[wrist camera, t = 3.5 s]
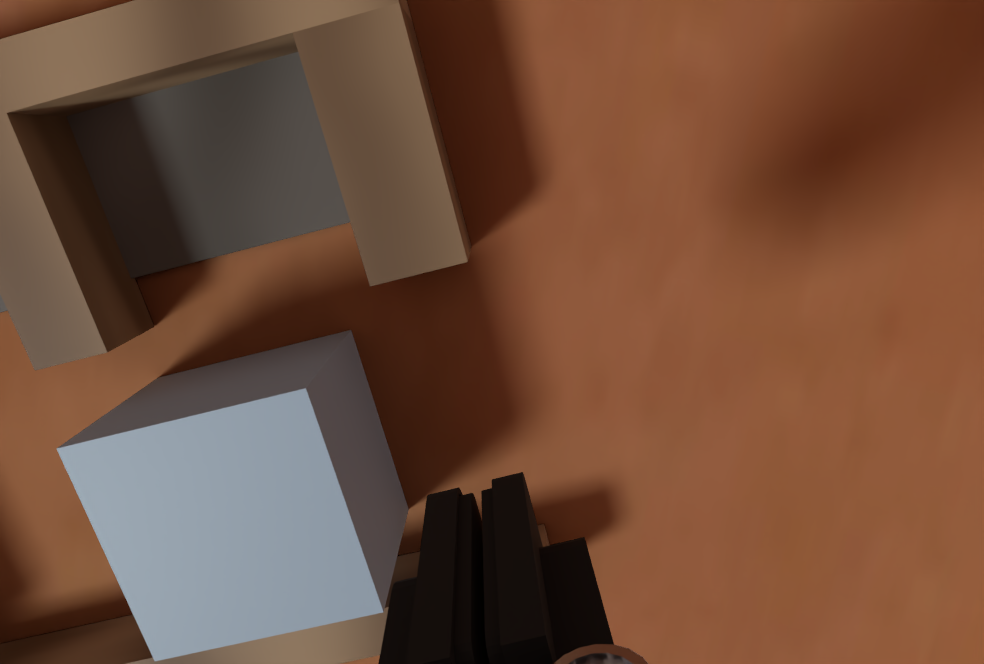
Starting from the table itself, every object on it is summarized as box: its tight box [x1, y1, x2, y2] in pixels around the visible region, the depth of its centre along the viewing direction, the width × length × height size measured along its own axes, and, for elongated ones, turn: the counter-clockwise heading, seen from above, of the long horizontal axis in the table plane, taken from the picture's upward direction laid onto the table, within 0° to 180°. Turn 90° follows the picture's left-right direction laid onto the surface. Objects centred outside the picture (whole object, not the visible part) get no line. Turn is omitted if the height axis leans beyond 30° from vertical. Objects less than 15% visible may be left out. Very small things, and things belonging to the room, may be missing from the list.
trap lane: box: [0, 0, 550, 664], centre depth 18 cm, size 22×18×4 cm
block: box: [57, 330, 409, 661], centre depth 19 cm, size 6×6×5 cm
